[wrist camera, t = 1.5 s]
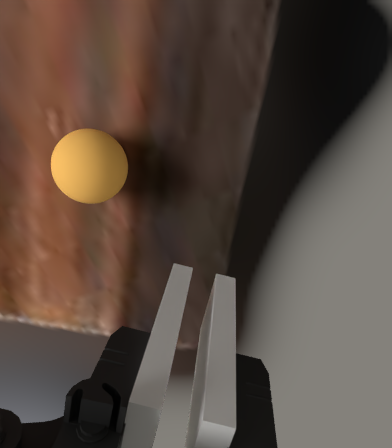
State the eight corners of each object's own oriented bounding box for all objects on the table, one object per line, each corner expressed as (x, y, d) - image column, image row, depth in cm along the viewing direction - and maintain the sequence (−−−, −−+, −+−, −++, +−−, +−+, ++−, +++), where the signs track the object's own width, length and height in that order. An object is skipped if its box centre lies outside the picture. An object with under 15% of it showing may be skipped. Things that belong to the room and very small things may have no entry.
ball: (73, 117, 29) (38, 125, 24) (140, 133, 29) (120, 145, 24) (67, 182, 31) (34, 203, 26) (130, 198, 31) (109, 222, 26)
